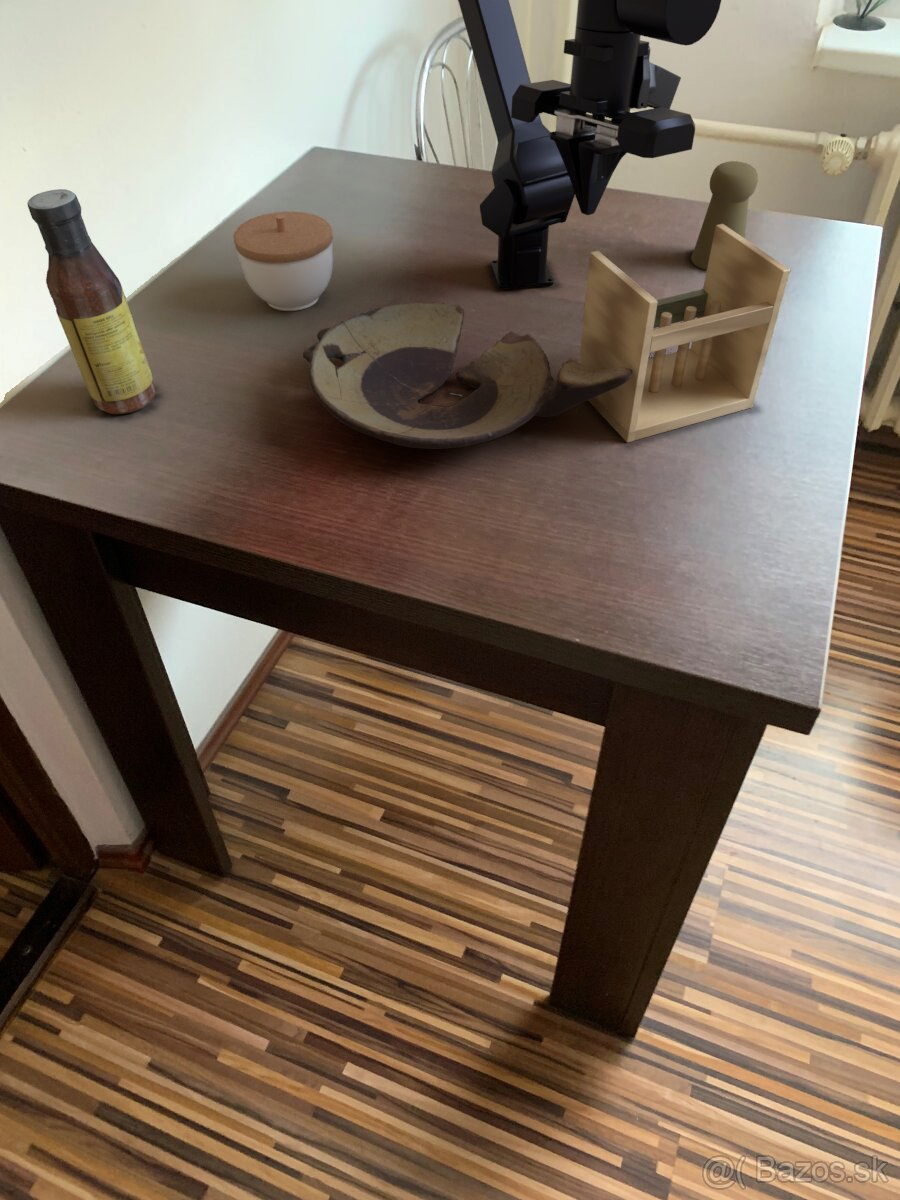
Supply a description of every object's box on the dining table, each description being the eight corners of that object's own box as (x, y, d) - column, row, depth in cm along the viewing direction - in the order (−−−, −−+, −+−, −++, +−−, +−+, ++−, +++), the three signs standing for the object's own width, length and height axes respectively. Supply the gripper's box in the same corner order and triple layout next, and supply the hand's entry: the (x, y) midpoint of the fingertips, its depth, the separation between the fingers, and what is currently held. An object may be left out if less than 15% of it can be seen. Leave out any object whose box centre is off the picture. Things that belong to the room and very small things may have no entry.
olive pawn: (743, 274, 104) (766, 177, 96) (690, 269, 105) (709, 174, 97) (741, 250, 108) (763, 156, 100) (691, 247, 109) (709, 153, 101)
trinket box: (228, 311, 100) (210, 229, 93) (275, 269, 107) (262, 190, 100) (312, 328, 97) (300, 245, 90) (355, 284, 104) (347, 204, 97)
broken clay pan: (412, 321, 98) (408, 254, 92) (647, 419, 85) (660, 348, 79) (261, 413, 86) (247, 343, 81) (506, 544, 73) (509, 471, 67)
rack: (575, 387, 89) (590, 251, 78) (694, 356, 92) (723, 223, 82) (627, 442, 82) (649, 303, 72) (752, 407, 86) (791, 269, 76)
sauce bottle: (169, 388, 90) (111, 187, 75) (135, 423, 85) (67, 218, 71) (114, 377, 91) (47, 178, 77) (78, 411, 87) (-1, 208, 73)
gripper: (753, 34, 75) (715, 223, 86) (598, 7, 87) (581, 178, 97) (664, 46, 70) (635, 246, 80) (512, 16, 81) (503, 195, 92)
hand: (587, 213), depth 87 cm, fingers closed
